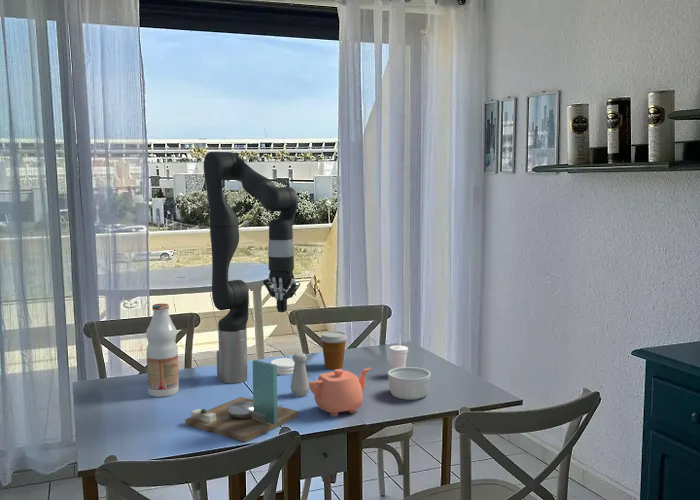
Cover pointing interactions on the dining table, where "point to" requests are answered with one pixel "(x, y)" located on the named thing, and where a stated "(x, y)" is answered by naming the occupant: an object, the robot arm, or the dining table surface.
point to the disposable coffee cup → (333, 349)
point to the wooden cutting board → (236, 421)
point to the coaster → (284, 366)
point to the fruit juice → (162, 354)
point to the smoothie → (398, 355)
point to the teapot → (339, 391)
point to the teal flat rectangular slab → (259, 395)
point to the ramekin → (409, 382)
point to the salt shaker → (299, 376)
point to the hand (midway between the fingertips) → (281, 311)
